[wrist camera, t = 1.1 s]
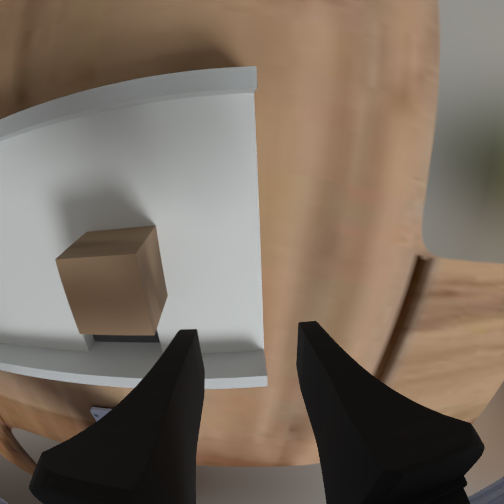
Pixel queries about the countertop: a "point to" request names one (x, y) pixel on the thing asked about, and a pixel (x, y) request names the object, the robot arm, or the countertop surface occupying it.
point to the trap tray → (136, 223)
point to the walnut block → (115, 281)
